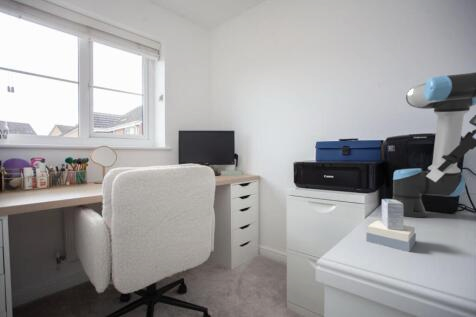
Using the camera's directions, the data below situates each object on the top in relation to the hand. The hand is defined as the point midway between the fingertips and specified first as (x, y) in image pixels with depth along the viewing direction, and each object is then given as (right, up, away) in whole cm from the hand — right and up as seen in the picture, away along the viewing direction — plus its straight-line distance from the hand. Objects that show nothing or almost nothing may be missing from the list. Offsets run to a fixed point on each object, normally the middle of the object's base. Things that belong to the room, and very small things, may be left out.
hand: (433, 176), depth 70 cm
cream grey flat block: (-10, -22, +4) cm, 25 cm away
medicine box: (-10, -17, +4) cm, 21 cm away
